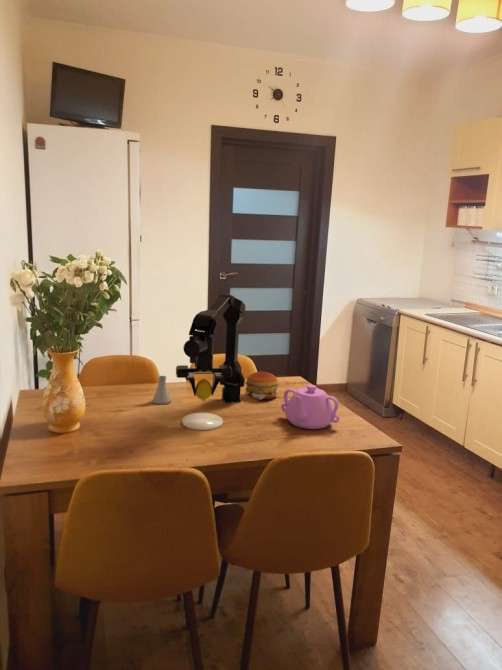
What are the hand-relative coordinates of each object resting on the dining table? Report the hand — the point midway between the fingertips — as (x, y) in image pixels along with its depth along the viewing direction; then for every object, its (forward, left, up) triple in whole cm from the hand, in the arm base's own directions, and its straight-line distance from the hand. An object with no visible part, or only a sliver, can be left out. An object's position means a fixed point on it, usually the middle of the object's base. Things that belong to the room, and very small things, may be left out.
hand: (203, 395), depth 180 cm
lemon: (0, 0, -2) cm, 2 cm away
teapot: (-36, +5, -10) cm, 38 cm away
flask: (+13, -23, -10) cm, 28 cm away
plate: (0, 0, -10) cm, 10 cm away
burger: (-27, -27, -10) cm, 40 cm away
